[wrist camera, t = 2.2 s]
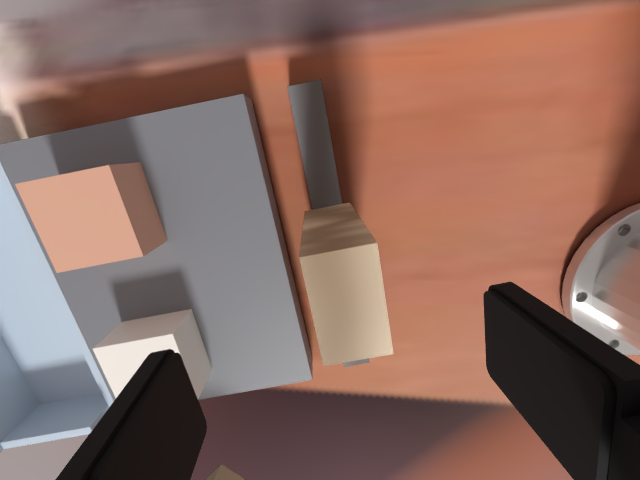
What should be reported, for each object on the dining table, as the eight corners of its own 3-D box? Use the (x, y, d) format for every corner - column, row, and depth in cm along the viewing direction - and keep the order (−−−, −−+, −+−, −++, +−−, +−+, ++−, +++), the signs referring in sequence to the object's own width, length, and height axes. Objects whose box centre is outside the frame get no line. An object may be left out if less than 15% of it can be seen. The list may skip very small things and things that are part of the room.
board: (251, 100, 20) (243, 93, 18) (312, 358, 26) (312, 379, 23) (30, 146, 21) (-7, 145, 18) (137, 389, 26) (120, 413, 24)
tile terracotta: (140, 162, 19) (108, 164, 16) (167, 240, 20) (143, 256, 17) (60, 178, 19) (14, 184, 16) (93, 255, 20) (56, 273, 17)
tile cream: (191, 308, 21) (172, 333, 19) (212, 368, 23) (197, 400, 20) (121, 321, 22) (92, 348, 19) (146, 380, 23) (123, 413, 20)
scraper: (327, 84, 20) (343, 14, 10) (371, 345, 26) (411, 481, 15) (282, 93, 20) (249, 35, 10) (335, 351, 26) (351, 491, 15)
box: (23, 147, 21) (-65, 147, 16) (132, 390, 26) (91, 444, 21) (-91, 171, 21) (-211, 178, 16) (41, 406, 26) (-19, 463, 22)
